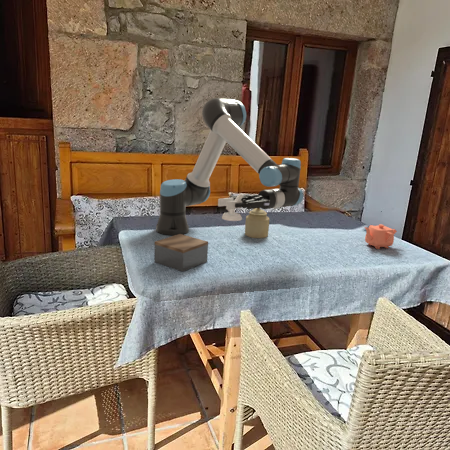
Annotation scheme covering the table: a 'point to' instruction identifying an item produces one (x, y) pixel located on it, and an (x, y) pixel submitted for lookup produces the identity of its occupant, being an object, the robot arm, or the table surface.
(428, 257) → the table surface
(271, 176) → the robot arm
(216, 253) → the table surface
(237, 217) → the white ring with handle
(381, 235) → the teapot
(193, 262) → the block
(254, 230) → the sugar bowl
